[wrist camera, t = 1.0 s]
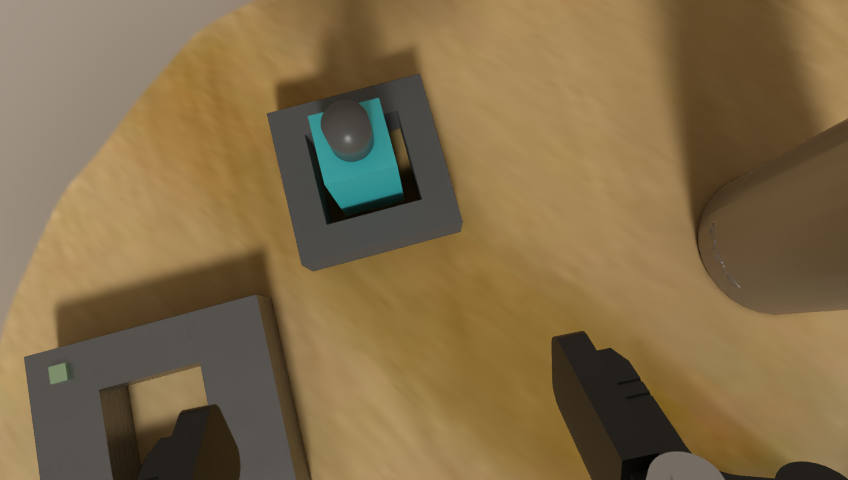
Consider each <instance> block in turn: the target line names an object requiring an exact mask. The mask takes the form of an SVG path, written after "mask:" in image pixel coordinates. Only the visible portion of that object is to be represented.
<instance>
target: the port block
mask: <svg viewBox="0 0 848 480" xmlns="http://www.w3.org/2000/svg"><path fill="white" fill-rule="evenodd" d="M24 361H25V368H26V376H27V383H28V391H29V398H30V406H31V413H32V421H33V429H34V436H35V444H36V451H37V459H38V466H39V474H40V480H137V479H138V477H139V474H140V471H141V467H140V461H139V455H138V449H137V443H136V437H135V430H134V424H133V418H132V412H131V406H130V400H129V394H128V388H127V386H128V385H132V384H136V383H139V382H143V381H147V380H150V379H154V378H158V377H161V376H165V375H169V374H172V373H176V372H180V371H183V370H187V369H191V368H194V367H198V366H201V369H202V375H203V380H204V385H205V390H206V396H207V401H208V405H212V404H216V405H218V407H219V408H220V410H221V412H222V414H223V416H224V418H225V421H226V423H227V425H228V427H229V429H230V431H231V434H232V436H233V438H234V440H235V442H236V444H237V447H238V450H239V455H240V464H241V469H240V478H239V480H311V479H310V475H309V470H308V465H307V461H306V456H305V452H304V447H303V442H302V438H301V433H300V429H299V424H298V420H297V415H296V410H295V406H294V401H293V397H292V392H291V387H290V383H289V378H288V374H287V369H286V364H285V360H284V355H283V351H282V346H281V342H280V337H279V332H278V328H277V323H276V319H275V314H274V309H273V305H272V300H271V298H268V297H264V296H261V295H257V294H256V295H252V296H249V297H245V298H241V299H237V300H234V301H230V302H226V303H223V304H219V305H215V306H212V307H208V308H204V309H200V310H197V311H193V312H189V313H186V314H182V315H178V316H174V317H171V318H167V319H163V320H160V321H156V322H152V323H148V324H145V325H141V326H137V327H134V328H130V329H126V330H122V331H119V332H115V333H111V334H108V335H104V336H100V337H97V338H93V339H89V340H85V341H82V342H78V343H74V344H71V345H67V346H63V347H59V348H56V349H52V350H48V351H45V352H41V353H37V354H33V355H30V356H26V357H24Z"/></svg>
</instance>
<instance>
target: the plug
mask: <svg viewBox="0 0 848 480" xmlns="http://www.w3.org/2000/svg"><path fill="white" fill-rule="evenodd" d="M308 119H309V124H310V128H311V132H312V136H313V140H314V144H315V148H316V152H317V156H318V160H319V164H320V168H321V172H322V177H323V181H324V185H325V186H326V188H327V189H328V190H329V192H330V193H331V195H332V196H333V198H334V199H335V201H336V202H337V203H338V205H339V206H340V208H341V209H342V211H343V212H344V213H345V215H346V216H350V215H353V214H357V213H361V212H365V211H368V210H372V209H376V208H380V207H383V206H387V205H391V204H395V203H398V202H402V201H405V200H404V195H403V190H402V185H401V181H400V176H399V171H398V166H397V162H396V159H395V155H394V151H393V148H392V144H391V140H390V137H389V133H388V129H387V126H386V122H385V118H384V115H383V111H382V107H381V104H380V100H379V98H376V99H372V100H368V101H364V102H361V103H357V102H355V101H352V100H339V101H336V102H334V103H332V104H331V105H329V106H328V107H327V108H326V109H325V111H324V112H322V113H318V114H315V115H311V116H308Z"/></svg>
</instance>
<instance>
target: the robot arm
mask: <svg viewBox="0 0 848 480" xmlns="http://www.w3.org/2000/svg"><path fill="white" fill-rule="evenodd" d="M698 243H699V250H700V254H701V258H702V262H703V264H704V266H705V268H706V270H707V272H708V274H709V276H710V277H711V278H712V280H713V281H714V282H715V284H716V285H717V286H718V288H719V289H721V290H722V291H723V292H724V293H725V294H726V295H727V296H728V297H730V298H731V299H732V300H734V301H736V302H737V303H739V304H741V305H742V306H744V307H746V308H749V309H752V310H755V311H757V312H761V313H768V314H775V315H777V314H792V313H806V312H820V311H837V310H848V118H847V119H846V120H844V121H842V122H840V123H838V124H836V125H835V126H833V127H831V128H829V129H827V130H825V131H823V132H822V133H820V134H818V135H816V136H814V137H812V138H811V139H809V140H807V141H805V142H803V143H801V144H800V145H798V146H796V147H794V148H792V149H790V150H789V151H787V152H785V153H783V154H781V155H779V156H777V157H776V158H774V159H772V160H770V161H768V162H766V163H764V164H762V165H761V166H759V167H757V168H755V169H753V170H751V171H750V172H748V173H746V174H744V175H742V176H740V177H739V178H737V179H735V180H733V181H731V182H730V183H728V184H726V185H725V186H723V187H722V188H721V189H720V190H719V191H717V192H716V193H715V194H714V195H713V197H712V198H711V199H710V201H709V202H708V203H707V205H706V207H705V209H704V211H703V214H702V216H701V219H700V224H699V230H698ZM552 383H553V390H554V395H555V398H556V402H557V405H558V407H559V410H560V412H561V414H562V416H563V418H564V420H565V423H566V425H567V427H568V429H569V431H570V433H571V436H572V438H573V440H574V442H575V444H576V446H577V449H578V451H579V453H580V455H581V457H582V459H583V462H584V464H585V466H586V468H587V470H588V472H589V475H590V477H591V479H592V480H848V479H847V478H846V477H844V476H843V475H841V474H840V473H838V472H836V471H834V470H833V469H831V468H828V467H826V466H823V465H820V464H817V463H812V462H802V461H801V462H792V463H789V464H786V465H784V466H783V467H782V468H780V469H779V471H778V472H777V474H776V477H775V479H774V478H762V477H751V476H739V475H732V474H728V473H724V472H721V471H718V470H717V468H715V467H714V466H713V465H712V464H711V463H709V462H708V461H706V460H705V459H703V458H701V457H699V456H696V455H694V454H692V453H691V452H690V451H689V449H688V448H687V447H686V445H685V444H684V442H683V441H682V439H681V438H680V437H679V435H678V434H677V432H676V431H675V429H674V428H673V426H672V425H671V423H670V422H669V420H668V419H667V417H666V416H665V414H664V413H663V411H662V410H661V408H660V407H659V405H658V404H657V402H656V401H655V399H654V398H653V396H651V395H650V392H649V390H648V389H647V387H646V386H645V384H644V383H643V381H642V382H641V380H640V377H639V375H638V374H637V372H636V371H635V369H634V368H633V366H632V365H631V363H630V362H629V361H628V360H627V359H625V358H624V357H622V356H621V355H620V354H618V353H617V352H615V351H614V350H613V349H611V348H608V349H603V350H598V351H597V350H596V349H595V347H594V345H593V344H592V342H591V340H590V339H589V337H588V336H587V334H586V333H585V332H584V331H580V332H575V333H570V334H565V335H560V336H555V337H553V338H552ZM240 469H241V464H240V455H239V450H238V447H237V444H236V442H235V440H234V438H233V436H232V434H231V431H230V429H229V427H228V425H227V423H226V421H225V418H224V416H223V414H222V412H221V410H220V408H219V407H218V405H216V404H212V405H207V406H202V407H197V408H192V409H187V410H183V411H181V412H180V414H179V416H178V419H177V422H176V425H175V429H174V432H173V435H172V436H170V437H165V438H160V440H159V441H158V442H157V444H156V445H155V446H154V448H153V449H152V450H151V452H150V453H149V454H148V455H147V457H146V458H145V459H144V462H143V465H142V468H141V471H140V474H139V477H138V479H137V480H239V478H240Z"/></svg>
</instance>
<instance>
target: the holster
mask: <svg viewBox="0 0 848 480" xmlns="http://www.w3.org/2000/svg"><path fill="white" fill-rule="evenodd" d="M376 98H379V100H380V104H381V107H382V111H383V115H384V118H385V122H386V126H387V129H388V131H392V130H396V129H399V128H400V129H401V133H402V136H403V140H404V144H405V147H406V151H407V155H408V158H409V162H410V165H411V169H412V173H413V176H414V180H415V183H416V187H417V191H418V194H419V198H420V200H418V201H414V202H411V203H407V204H403V205H399V206H396V207H392V208H388V209H384V210H381V211H377V212H373V213H369V214H366V215H362V216H358V217H354V218H351V219H347V220H343V221H339V222H336V223H332V219H331V215H330V211H329V207H328V203H327V199H326V194H325V190H324V186H323V182H322V178H321V174H320V170H319V166H318V162H317V158H316V154H315V151H316V148H315V144H314V140H313V136H312V132H311V128H310V124H309V119H308V116H311V115H315V114H318V113H322V112H324V111H325V109H326V108H327V107H328V106H329V105H331V104H332V103H334V102H336V101H339V100H352V101H355V102H357V103H361V102H364V101H368V100H372V99H376ZM267 117H268V121H269V125H270V130H271V134H272V138H273V143H274V147H275V151H276V156H277V160H278V164H279V169H280V173H281V177H282V182H283V186H284V190H285V195H286V199H287V203H288V208H289V212H290V216H291V221H292V225H293V229H294V234H295V238H296V242H297V247H298V251H299V255H300V260H301V264H302V266H304V267H306V268H308V269H309V270H311V271H316V270H320V269H323V268H327V267H331V266H335V265H338V264H342V263H346V262H349V261H353V260H357V259H361V258H364V257H368V256H372V255H375V254H379V253H383V252H387V251H390V250H394V249H398V248H401V247H405V246H409V245H413V244H416V243H420V242H424V241H427V240H431V239H435V238H439V237H442V236H446V235H450V234H453V233H457V232H460V231H461V227H462V223H463V221H462V218H461V214H460V211H459V207H458V204H457V201H456V197H455V194H454V190H453V187H452V183H451V180H450V176H449V173H448V170H447V166H446V163H445V159H444V156H443V152H442V149H441V145H440V142H439V138H438V135H437V132H436V128H435V125H434V121H433V118H432V114H431V111H430V107H429V104H428V100H427V97H426V94H425V90H424V87H423V83H422V80H421V76H420V74H417V75H413V76H409V77H405V78H401V79H398V80H394V81H390V82H386V83H382V84H378V85H375V86H371V87H367V88H363V89H359V90H355V91H351V92H348V93H344V94H340V95H336V96H332V97H328V98H325V99H321V100H317V101H313V102H309V103H305V104H301V105H298V106H294V107H290V108H286V109H282V110H278V111H275V112H271V113H267Z"/></svg>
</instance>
